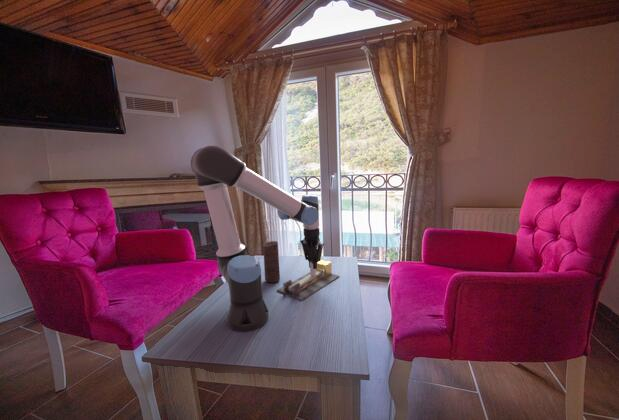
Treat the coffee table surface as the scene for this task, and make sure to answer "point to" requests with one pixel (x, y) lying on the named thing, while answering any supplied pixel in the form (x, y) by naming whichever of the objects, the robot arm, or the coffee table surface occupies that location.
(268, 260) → the brown wooden block
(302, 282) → the bar
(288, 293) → the tongs base
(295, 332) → the coffee table surface
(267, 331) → the coffee table surface
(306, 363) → the coffee table surface
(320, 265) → the collar
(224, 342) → the coffee table surface
